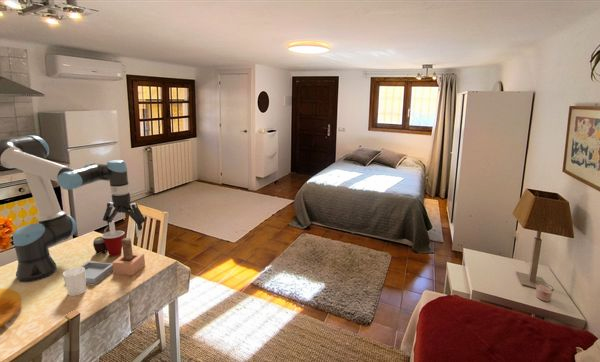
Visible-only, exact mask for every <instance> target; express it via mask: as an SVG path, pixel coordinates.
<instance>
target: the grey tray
mask: <svg viewBox="0 0 600 362" xmlns="http://www.w3.org/2000/svg"><path fill="white" fill-rule="evenodd" d="M79 267H84V268H85V275H86V285H96V284H97V283H99V282H101V280H103V279H104V278H106V277H107V276H109V274H111V273H113V272H114V271H113V264H112V262H104V261H103V262H102V261H93V260H87V261H86V262H85V263H83V264H82V265H80V266H79Z"/></svg>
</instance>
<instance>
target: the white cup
mask: <svg viewBox="0 0 600 362" xmlns="http://www.w3.org/2000/svg"><path fill="white" fill-rule="evenodd" d="M62 277H63V281H64V285H65V289H66V290H67V295H68V296H70V297H75V296H80V295H82V294H83V293H85V292H86V291H87V284H86V275H85V268H84V267H80V266H74V267H71V268H67V269H66V270H65V271H63V273H62Z"/></svg>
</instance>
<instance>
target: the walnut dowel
mask: <svg viewBox="0 0 600 362" xmlns="http://www.w3.org/2000/svg"><path fill="white" fill-rule="evenodd" d="M133 253H134V252H133V245H132V238H131V237H123V239H122V255H123V256H124V261H129V262H131V261H132V260H133Z"/></svg>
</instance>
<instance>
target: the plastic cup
mask: <svg viewBox="0 0 600 362" xmlns="http://www.w3.org/2000/svg"><path fill="white" fill-rule="evenodd" d="M115 231H116V233H115V234H114V235H110V231H108V232H107V231H106V232H105V233H104V232H103V233H102V234H101V236H100V237H102V238H103V240H104V242H105V245H106V248H107V252H108V255H109V256H110V257H118V256H121V255H122V253H123V248H122V239H124V236H125V231H123V230H115Z"/></svg>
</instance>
